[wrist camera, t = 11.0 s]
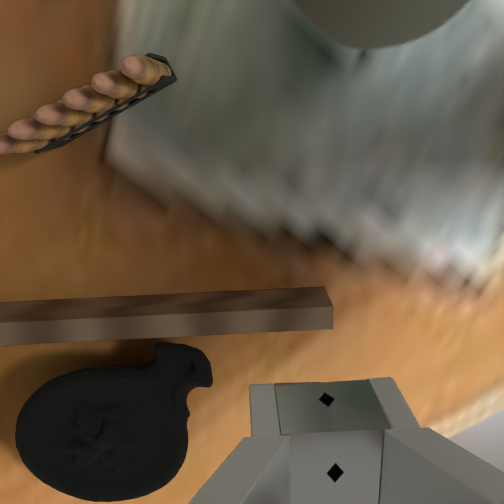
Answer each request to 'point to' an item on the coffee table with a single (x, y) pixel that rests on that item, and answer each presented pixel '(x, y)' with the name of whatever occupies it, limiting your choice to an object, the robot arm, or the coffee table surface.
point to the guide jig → (165, 315)
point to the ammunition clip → (88, 105)
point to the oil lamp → (113, 426)
